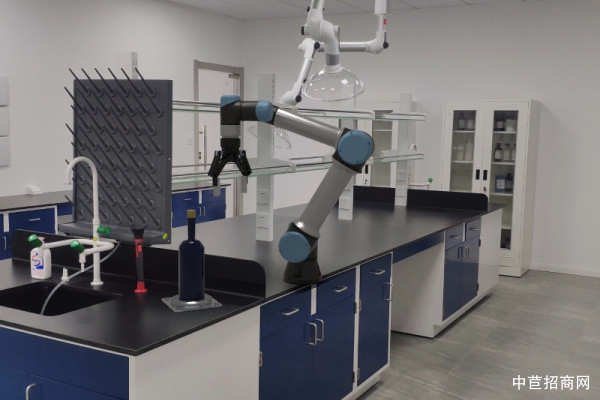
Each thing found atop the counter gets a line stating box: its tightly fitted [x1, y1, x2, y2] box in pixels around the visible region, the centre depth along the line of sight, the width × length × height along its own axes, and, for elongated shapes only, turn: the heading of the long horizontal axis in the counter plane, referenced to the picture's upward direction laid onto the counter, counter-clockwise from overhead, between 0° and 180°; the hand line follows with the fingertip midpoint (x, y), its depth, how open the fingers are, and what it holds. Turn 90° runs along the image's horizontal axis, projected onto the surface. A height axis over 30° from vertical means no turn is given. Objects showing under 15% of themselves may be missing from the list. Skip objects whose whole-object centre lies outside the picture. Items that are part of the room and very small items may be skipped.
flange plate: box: [161, 293, 223, 313], centre depth 212 cm, size 16×16×2 cm
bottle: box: [178, 209, 206, 302], centre depth 211 cm, size 9×9×30 cm
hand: (230, 194), depth 236 cm, fingers open, 13 cm apart
